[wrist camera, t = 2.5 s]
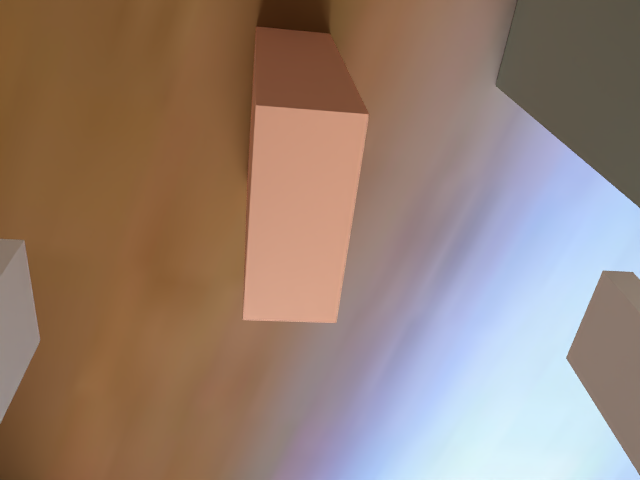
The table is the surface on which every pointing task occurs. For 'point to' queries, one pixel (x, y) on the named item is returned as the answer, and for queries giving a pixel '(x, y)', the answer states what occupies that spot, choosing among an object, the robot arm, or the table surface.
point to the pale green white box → (581, 79)
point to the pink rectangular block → (300, 176)
